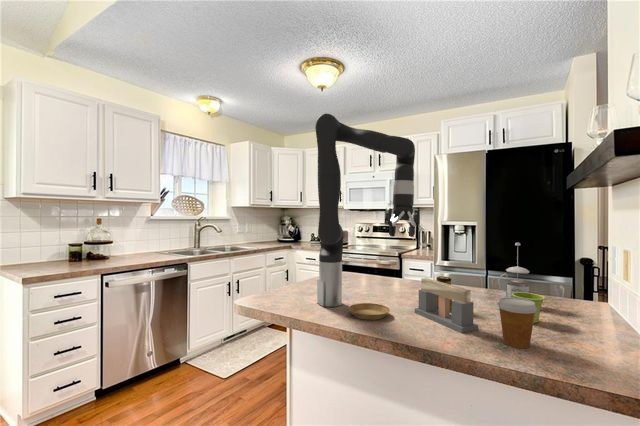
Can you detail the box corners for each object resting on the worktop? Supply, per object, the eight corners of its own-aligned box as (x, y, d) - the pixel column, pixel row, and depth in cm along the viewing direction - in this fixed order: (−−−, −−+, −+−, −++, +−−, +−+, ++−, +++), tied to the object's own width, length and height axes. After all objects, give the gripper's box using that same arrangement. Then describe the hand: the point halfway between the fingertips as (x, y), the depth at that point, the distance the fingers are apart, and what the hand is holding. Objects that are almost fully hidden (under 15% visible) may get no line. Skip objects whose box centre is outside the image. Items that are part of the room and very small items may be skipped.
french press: (535, 309, 124) (535, 244, 124) (501, 306, 128) (501, 243, 128) (528, 302, 133) (528, 241, 133) (496, 300, 137) (496, 240, 137)
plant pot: (539, 318, 114) (539, 293, 114) (548, 327, 105) (548, 300, 105) (509, 315, 117) (509, 291, 117) (515, 323, 108) (515, 297, 108)
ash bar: (464, 303, 101) (464, 290, 101) (421, 289, 120) (421, 278, 120) (470, 302, 102) (470, 290, 102) (426, 288, 121) (426, 278, 121)
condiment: (457, 309, 124) (457, 278, 124) (443, 313, 120) (443, 280, 120) (440, 304, 130) (440, 274, 130) (426, 308, 126) (427, 277, 126)
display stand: (461, 333, 100) (461, 305, 100) (414, 312, 120) (414, 289, 120) (478, 329, 102) (478, 302, 102) (429, 310, 123) (429, 287, 123)
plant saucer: (341, 312, 121) (341, 305, 121) (374, 307, 127) (374, 301, 127) (362, 324, 107) (362, 316, 107) (398, 319, 113) (398, 311, 113)
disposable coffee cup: (490, 337, 96) (490, 297, 96) (520, 336, 97) (520, 296, 97) (511, 351, 86) (512, 306, 86) (545, 350, 87) (545, 305, 87)
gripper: (412, 194, 128) (411, 235, 128) (381, 192, 123) (380, 235, 123) (425, 194, 121) (423, 237, 121) (393, 192, 116) (391, 237, 116)
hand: (401, 236), depth 122 cm, fingers open, 8 cm apart
